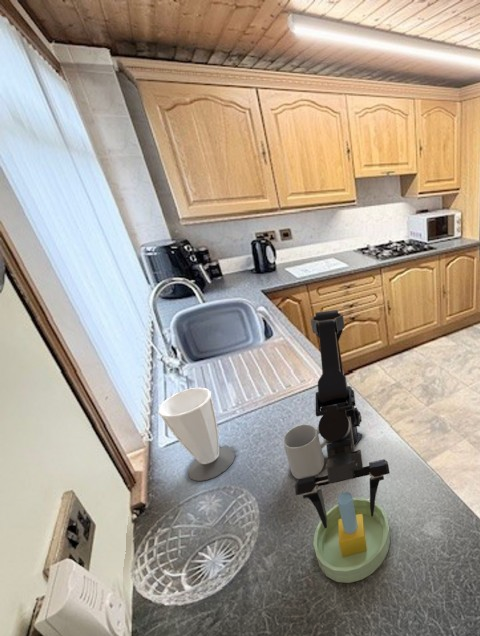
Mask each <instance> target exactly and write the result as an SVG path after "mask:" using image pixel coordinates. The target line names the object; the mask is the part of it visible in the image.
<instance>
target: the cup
mask: <svg viewBox="0 0 480 636" xmlns="http://www.w3.org/2000/svg"><path fill="white" fill-rule="evenodd" d="M157 414H158V416H160V417H161V418H162V420H163V421H164V423H165V425H166V427H168V429H169V430H170V431H171V433H172V435H173V436H174V437H175V438H176V439H177V440H178V442H179V443H180V444H181V445H182V447H183V448H184V449H185V450H186V451H187V452H188V453H189V454H190V455H191V457H192V458H194V460H193V461H192V462H191V463H190V466H189V467H188V469H187V476H188V477H189V478H190V479H191V480H193V481H196V482H203V481H209V480H212V479H214V478H216V477H219V476H220V475H221V474H222V473H224V472H226V471H227V470H228V469H229V468H230V466H232V465H233V463H234V460H235V458H236V454H235V451H234V450H233V449H232V448H231V447H228V446H227V447H226V446H220V436H219V429H218V428H219V427H218V420H217V415H216V414H217V413H216V411H215V406H214V402H213V398H212V391H211V390H209V389H208V388H207V387H200V386H199V387H191V388H187V389H184V390H183V389H182V390H180V391H178V392H177V393H174V394H171V396H169V397H168V398H166V399H165V400H163V402H162V403H160V405H159V407H158V411H157Z"/></svg>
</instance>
